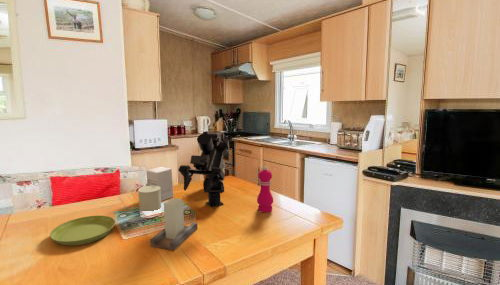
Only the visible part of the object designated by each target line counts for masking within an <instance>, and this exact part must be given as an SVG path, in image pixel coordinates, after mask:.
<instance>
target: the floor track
mask: <svg viewBox="0 0 500 285" xmlns="http://www.w3.org/2000/svg"><path fill="white" fill-rule="evenodd" d="M198 228H199V227H198V222H197V221H196V222H195V221H193V222H192V223H191V224H189V225H184V231H183V232H182V233H180V234H179V235H178V236H177V237H176V238H175V239H169V238H166V232H165V228H163V229H162V230H161V231H159V232H158V233H157V234H156V235H154V236H153V237H151V238H150V241H149V242H150V247H152V248H158V249H163V250H168V251H175V250H177V249H178V248H179V247H180V246H181V245H182V244H183V243H184V242H186V240H187V239H188V238H189V237H191V236H192V235H194V233H195V232H196V231H197V230H198Z"/></svg>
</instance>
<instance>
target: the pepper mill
mask: <svg viewBox="0 0 500 285" xmlns="http://www.w3.org/2000/svg"><path fill="white" fill-rule="evenodd" d="M257 176H258V179H259V185H260V190H259V192H258V195H257V199H256V201H257V204H258V206H257V209H258V212H261V213H271V212H272V211H273V206H272V205H273V203H274V198H273V197H274V196H273V194H272V192H271V190H270V188H271V184H272V181H271V180H272V178H273V173H272V171H270V170H269V169H268V167H267V166H263V167H262V170H260V171H259V172H258V175H257Z"/></svg>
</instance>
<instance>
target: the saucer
mask: <svg viewBox="0 0 500 285" xmlns="http://www.w3.org/2000/svg"><path fill="white" fill-rule="evenodd" d="M115 225H116V220H115V219H114V217H111V216H108V215H88V216H83V217H78V218H75V219H71V220H68V221H66V222H63V223H61V224H59V225H58V226H56V227H54V228H53V229H52V230H51V232H50V234H49V238H51V239H52V240H53V241H54V242H56V243H58V244H60V245H63V246H68V247H70V246H71V247H72V246H83V245H86V244H91V243H93V242H96V241H98V240H101V239H102V238H104V237H106V236H107V235H108V234H109V233H111V231H112V230H113V228H114V227H115Z"/></svg>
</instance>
